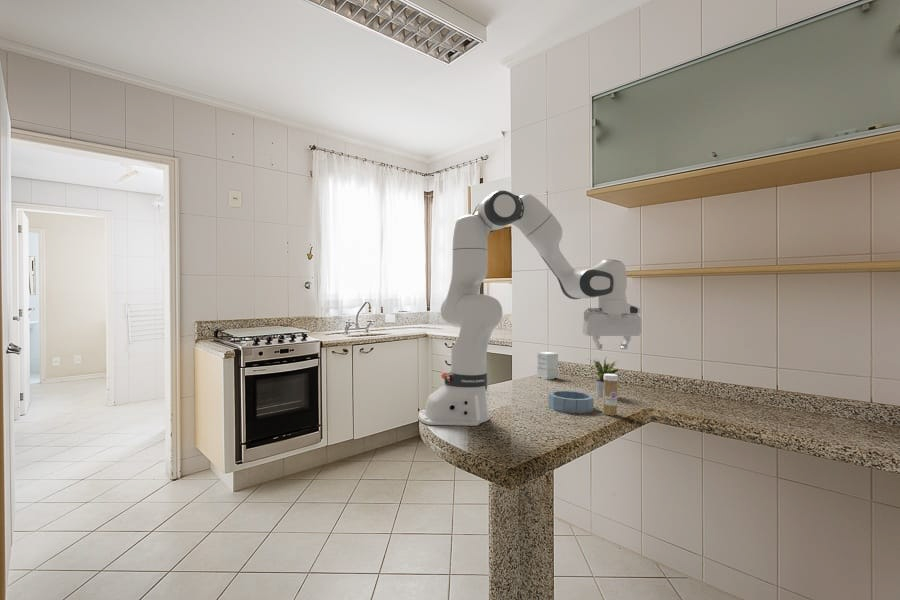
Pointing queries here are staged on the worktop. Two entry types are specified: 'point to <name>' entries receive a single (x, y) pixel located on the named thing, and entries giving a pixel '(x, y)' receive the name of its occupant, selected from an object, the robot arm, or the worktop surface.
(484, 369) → the robot arm
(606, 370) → the house plant
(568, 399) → the bowl
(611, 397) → the sprinkles bottle
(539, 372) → the white canister
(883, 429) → the worktop surface
